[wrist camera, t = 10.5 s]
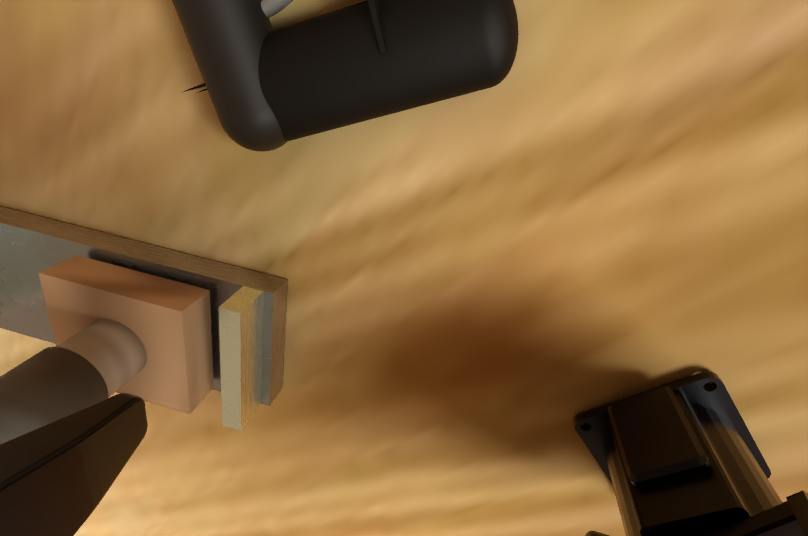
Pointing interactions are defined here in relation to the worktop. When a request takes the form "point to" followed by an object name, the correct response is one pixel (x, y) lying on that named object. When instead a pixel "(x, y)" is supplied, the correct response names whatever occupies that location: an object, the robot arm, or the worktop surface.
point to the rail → (229, 285)
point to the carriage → (111, 345)
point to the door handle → (342, 61)
